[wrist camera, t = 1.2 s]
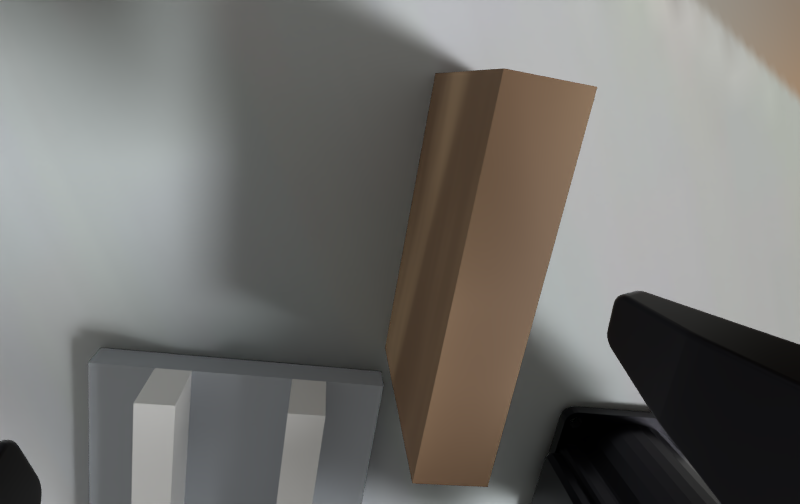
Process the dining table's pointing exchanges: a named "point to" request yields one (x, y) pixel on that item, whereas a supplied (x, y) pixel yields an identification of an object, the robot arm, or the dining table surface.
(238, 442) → the track board
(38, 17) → the dining table surface
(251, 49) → the dining table surface
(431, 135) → the door panel
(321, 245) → the dining table surface
